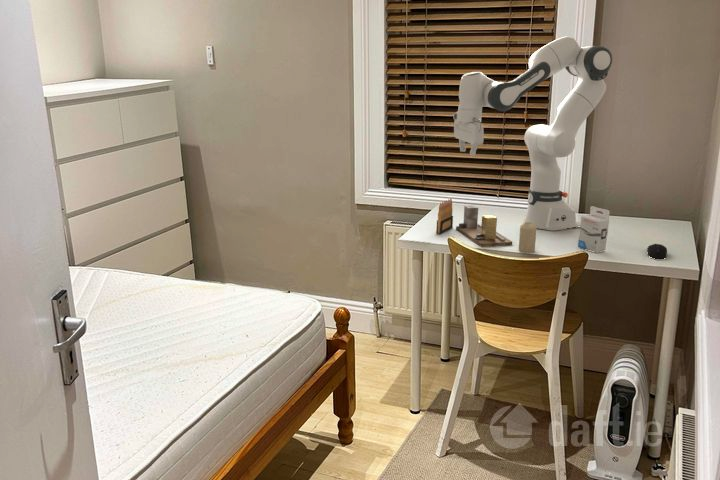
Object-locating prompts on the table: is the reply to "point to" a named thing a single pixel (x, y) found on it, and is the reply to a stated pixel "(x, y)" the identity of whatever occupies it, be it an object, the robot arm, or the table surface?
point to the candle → (527, 237)
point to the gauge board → (478, 229)
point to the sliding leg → (488, 227)
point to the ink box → (594, 230)
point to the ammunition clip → (445, 217)
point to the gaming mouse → (657, 251)
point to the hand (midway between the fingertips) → (467, 153)
